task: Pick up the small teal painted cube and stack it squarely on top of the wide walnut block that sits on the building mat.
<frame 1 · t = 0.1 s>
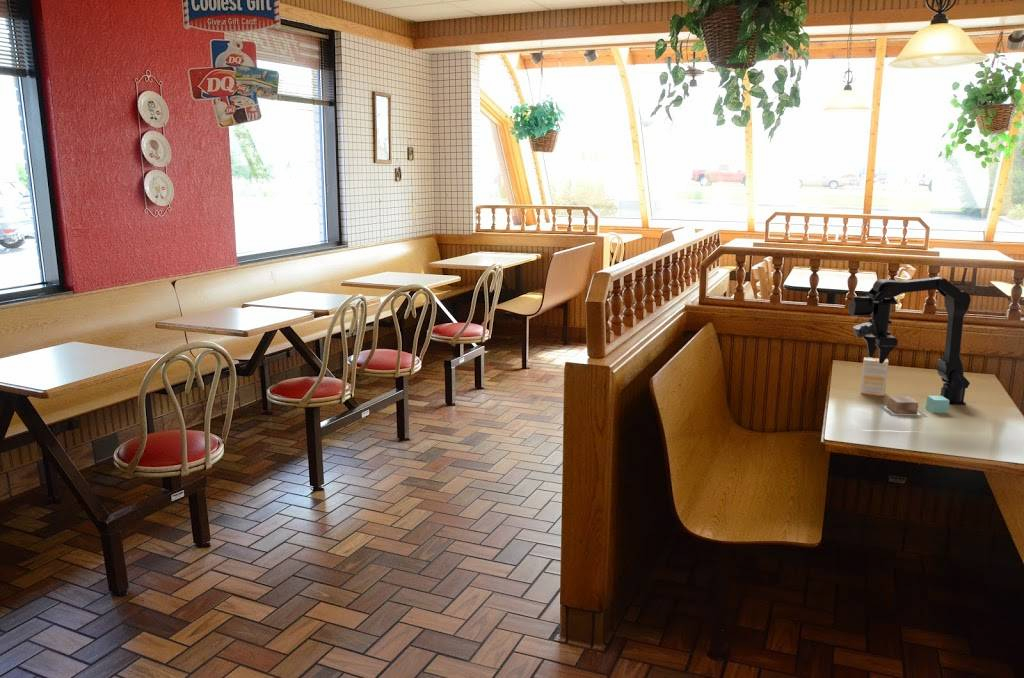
hand: (875, 359, 278), 15 cm above the table, tool pointing down, fingers open, 9 cm apart
walnut block: (901, 410, 268), resting on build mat
supplement box: (872, 394, 288), on the table
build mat: (901, 411, 268), on the table
teal cube: (936, 412, 269), on the table
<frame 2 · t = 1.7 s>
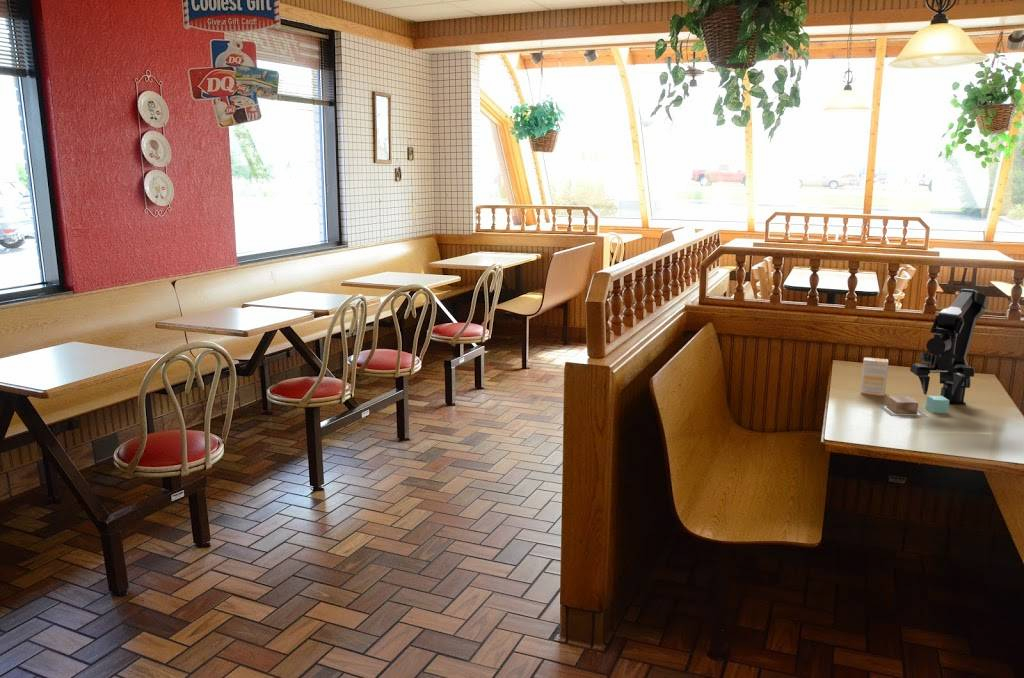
hand: (938, 394, 267), 6 cm above the table, tool pointing down, fingers open, 9 cm apart
nothing on the table moved.
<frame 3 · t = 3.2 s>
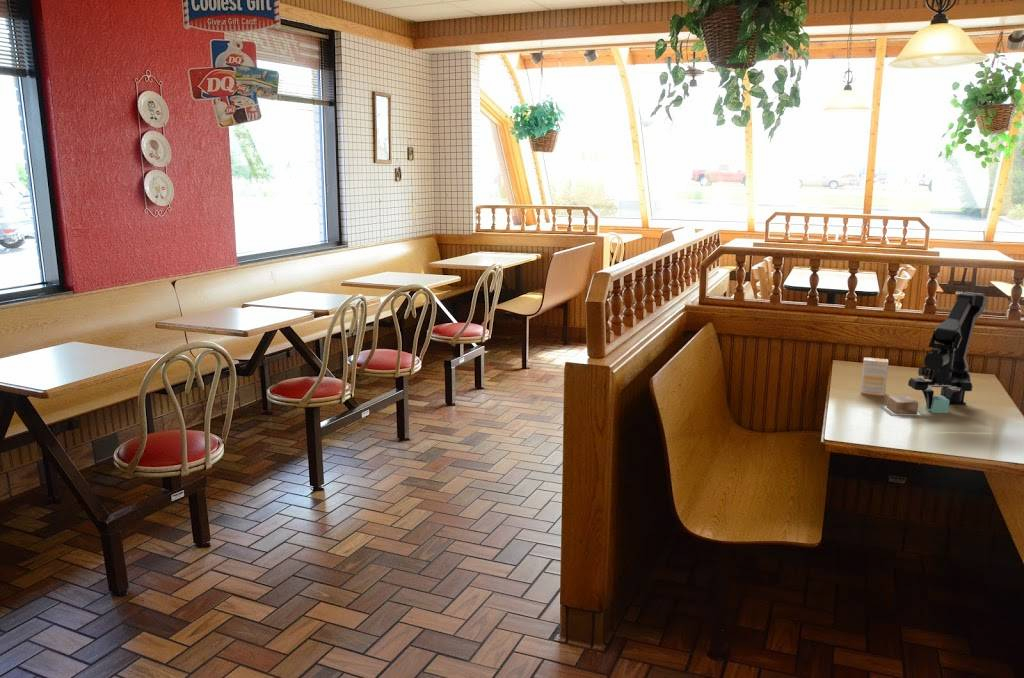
hand: (936, 408, 269), 1 cm above the table, tool pointing down, fingers closed on teal cube, 5 cm apart
teal cube: (936, 411, 269), on the table, touching gripper
everything else where it was.
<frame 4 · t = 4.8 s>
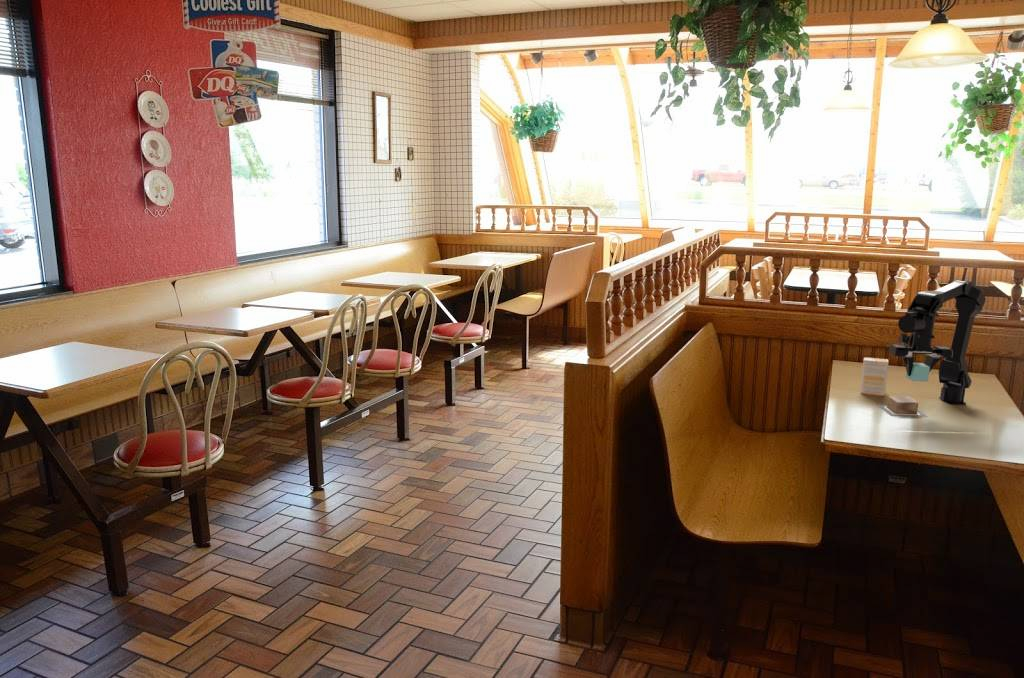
hand: (916, 376, 265), 13 cm above the table, tool pointing down, fingers closed on teal cube, 5 cm apart
teal cube: (916, 379, 265), point 12 cm above the table, touching gripper
everything else where it was.
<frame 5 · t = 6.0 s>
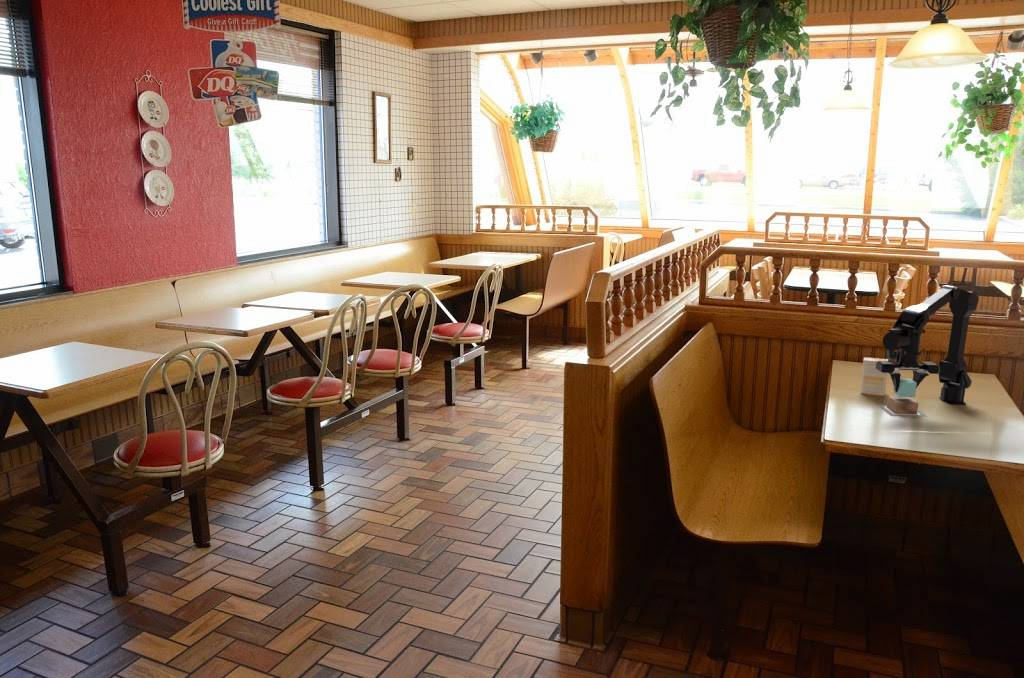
hand: (904, 391, 267), 7 cm above the table, tool pointing down, fingers closed on teal cube, 5 cm apart
teal cube: (904, 394, 267), point 6 cm above the table, touching gripper
everything else where it was.
when the fingers open (7 cm above the table, at t = 6.7 s): teal cube drops 2 cm, resting on walnut block.
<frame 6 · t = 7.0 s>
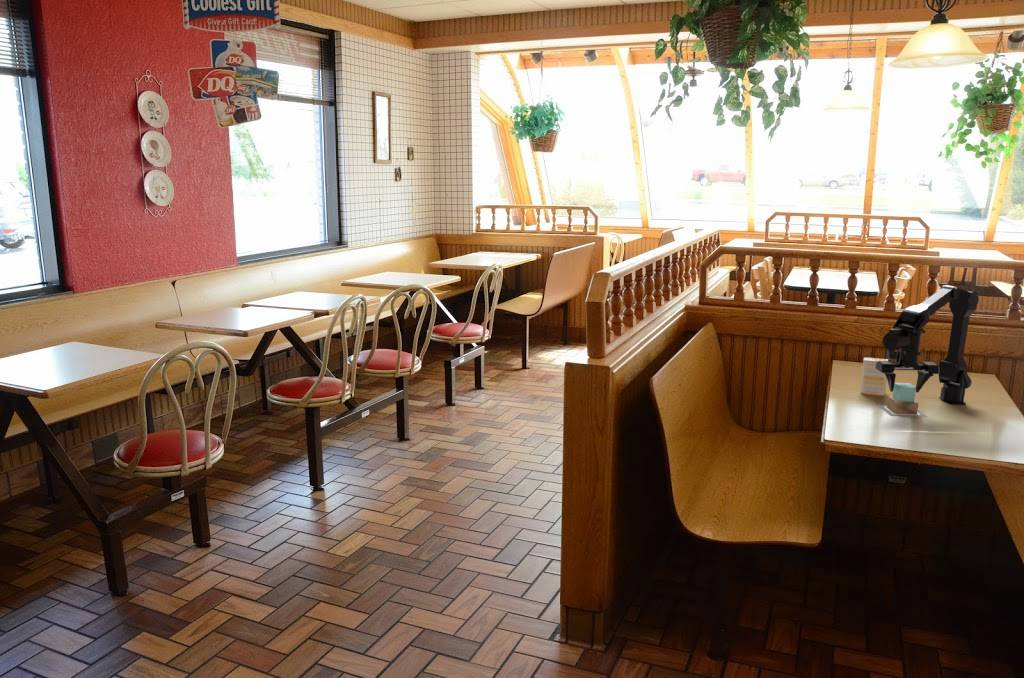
hand: (904, 391, 267), 7 cm above the table, tool pointing down, fingers open, 8 cm apart
walnut block: (901, 410, 268), resting on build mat, touching teal cube
teal cube: (903, 399, 267), point 4 cm above the table, touching walnut block
everything else where it was.
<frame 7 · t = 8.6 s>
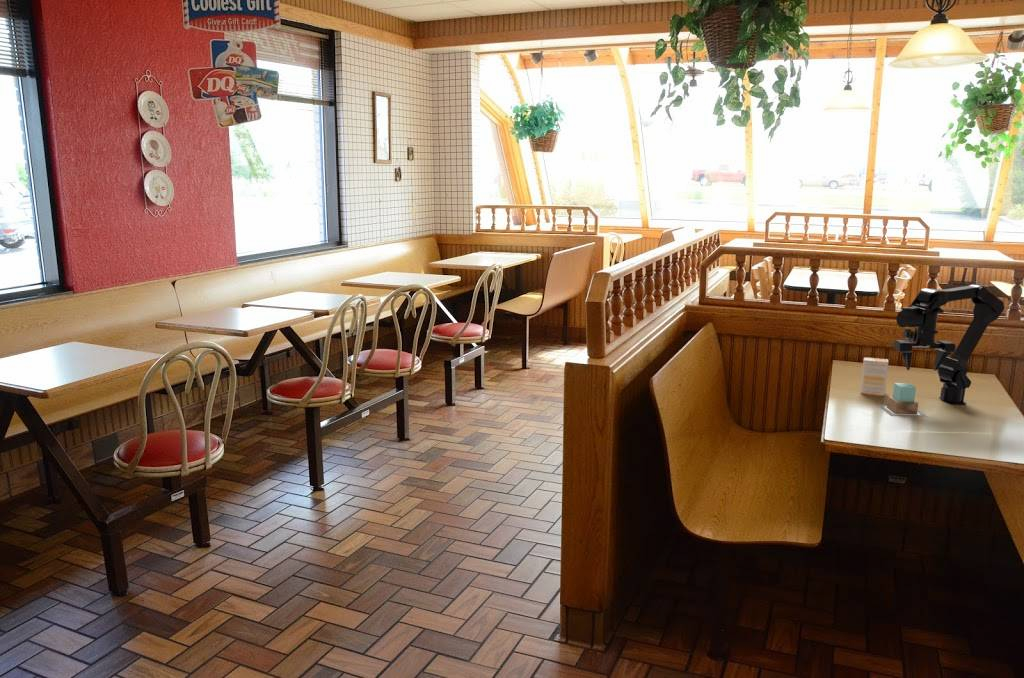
hand: (921, 370, 274), 12 cm above the table, tool pointing down, fingers open, 9 cm apart
nothing on the table moved.
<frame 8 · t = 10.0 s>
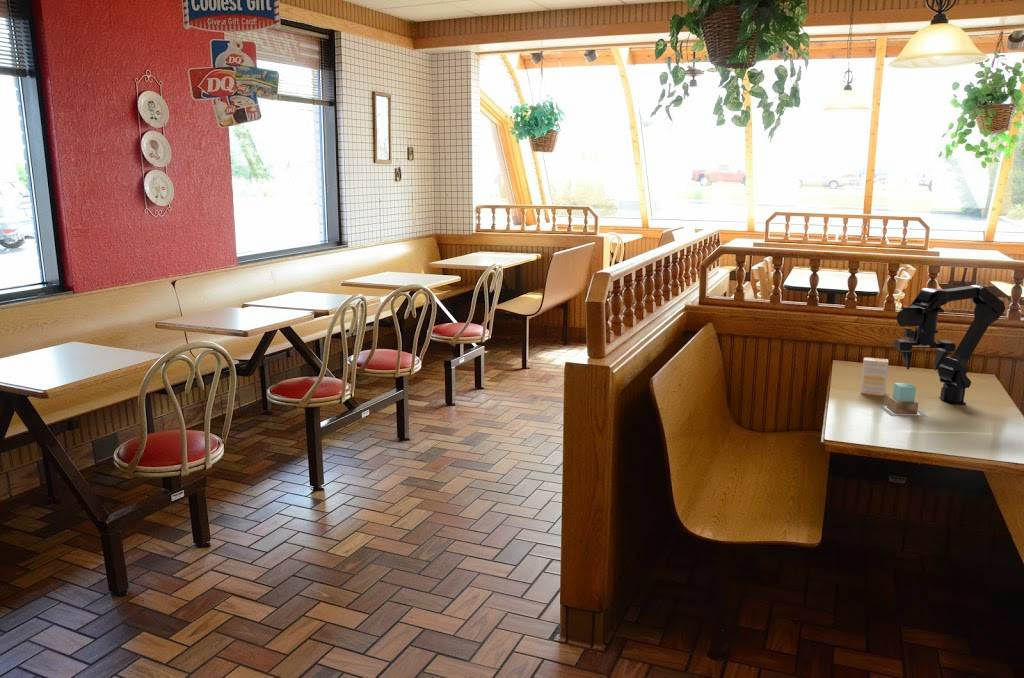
hand: (921, 369, 274), 13 cm above the table, tool pointing down, fingers open, 9 cm apart
nothing on the table moved.
at the end: teal cube 0.1 cm off-centre on the walnut block, point 4.0 cm above the walnut block's base; teal cube tilted 0°; walnut block moved 0.1 cm from its start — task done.
